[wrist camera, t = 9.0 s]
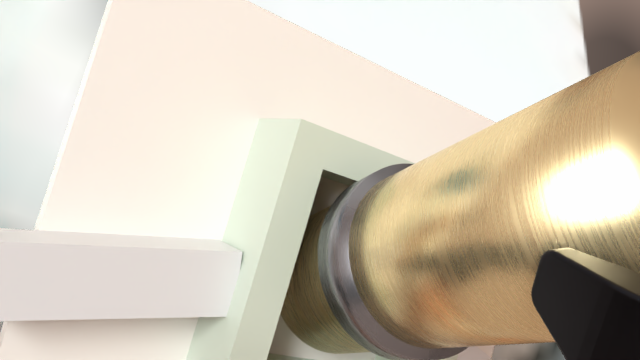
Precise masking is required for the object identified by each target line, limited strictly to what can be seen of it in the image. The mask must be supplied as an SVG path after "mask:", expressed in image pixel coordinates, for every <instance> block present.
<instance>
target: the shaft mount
mask: <svg viewBox="0 0 640 360" xmlns="http://www.w3.org/2000/svg"><path fill="white" fill-rule="evenodd" d="M495 123H496V122H494V121H492V120H490V119H488V118H486V117H484V116H482V115H479V114H477V113H475V112H473V111H471V110H469V109H467V108H465V107H463V106H461V105H459V104H457V103H455V102H453V101H451V100H449V99H447V98H445V97H443V96H441V95H439V94H437V93H435V92H432V91H430V90H428V89H426V88H424V87H422V86H420V85H418V84H416V83H414V82H412V81H410V80H408V79H406V78H404V77H402V76H400V75H398V74H396V73H394V72H392V71H390V70H388V69H386V68H383V67H381V66H379V65H377V64H375V63H373V62H371V61H369V60H367V59H365V58H363V57H361V56H359V55H357V54H355V53H353V52H351V51H349V50H347V49H345V48H343V47H341V46H339V45H336V44H334V43H332V42H330V41H328V40H326V39H324V38H322V37H320V36H318V35H316V34H314V33H312V32H310V31H308V30H306V29H304V28H302V27H300V26H298V25H296V24H294V23H292V22H290V21H287V20H285V19H283V18H281V17H279V16H277V15H275V14H273V13H271V12H269V11H267V10H265V9H263V8H261V7H259V6H257V5H255V4H253V3H251V2H249V1H247V0H108V2H107V6H106V9H105V12H104V15H103V18H102V21H101V24H100V27H99V30H98V33H97V36H96V39H95V42H94V46H93V49H92V52H91V55H90V58H89V61H88V64H87V67H86V70H85V73H84V76H83V79H82V83H81V86H80V89H79V92H78V95H77V98H76V101H75V104H74V107H73V110H72V113H71V116H70V120H69V123H68V126H67V129H66V132H65V135H64V138H63V141H62V144H61V147H60V150H59V153H58V156H57V160H56V163H55V166H54V169H53V172H52V175H51V178H50V181H49V184H48V187H47V190H46V193H45V197H44V200H43V203H42V206H41V209H40V212H39V215H38V218H37V221H36V224H35V227H34V230H25V229H6V228H0V321H4V323H3V326H2V329H1V332H0V360H391V359H387V358H384V357H381V356H378V355H376V354H374V353H372V352H363V353H345V354H333V353H326V352H323V351H319V350H317V349H314V348H312V347H310V346H309V345H307V344H306V343H304V342H303V341H301V340H300V339H299V338H298V337H297V336H296V335H295V334H294V333H293V332H292V331H291V330H290V329H289V327H288V326H287V325H286V323H285V322H284V320H283V318H282V316H281V314H280V313H281V310H282V306H283V303H284V300H285V296H286V293H287V289H288V286H289V283H290V279H291V276H292V273H293V269H294V266H295V262H296V259H297V256H298V252H299V249H300V245H301V242H302V239H303V235H304V232H305V229H306V225H307V222H308V218H309V216H311V215H313V214H315V213H317V212H319V211H321V210H323V209H325V208H327V207H329V206H331V205H332V204H333V202H334V201H335V200H336V198H337V197H338V196H339V195H340V194H341V193H342V192H343V191H344V190H345V189H346V188H348V187H349V186H350V185H352V184H353V183H355V182H357V181H359V180H361V179H363V178H365V177H367V176H368V175H370V174H372V173H374V172H376V171H378V170H380V169H382V168H384V167H387V166H391V165H395V164H402V163H405V164H415V163H417V162H419V161H421V160H423V159H425V158H427V157H429V156H431V155H433V154H435V153H437V152H439V151H441V150H443V149H445V148H447V147H449V146H451V145H453V144H455V143H457V142H459V141H461V140H463V139H465V138H467V137H469V136H471V135H473V134H475V133H477V132H479V131H481V130H483V129H485V128H487V127H489V126H491V125H493V124H495ZM494 347H495V345H491V346H473V347H468V348H467V349H465V350H464V351H462V352H460V353H459V354H457V355H454V356H452V357H449V358H445V359H440V360H493V359H492V355H493V351H494Z"/></svg>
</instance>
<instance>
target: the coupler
mask: <svg viewBox="0 0 640 360" xmlns="http://www.w3.org/2000/svg"><path fill="white" fill-rule="evenodd" d="M558 248H572V249H575V250H578V251H580V252H583V253H586V254H589V255H592V256H594V257H597V258H600V259H603V260H606V261H608V262H611V263H614V264H617V265H620V266H622V267H625V268H628V269H631V270H633V271H636V272H639V273H640V51H639V52H637V53H635V54H633V55H631V56H629V57H627V58H625V59H623V60H621V61H619V62H617V63H615V64H613V65H611V66H609V67H607V68H605V69H603V70H601V71H599V72H597V73H595V74H593V75H591V76H589V77H587V78H585V79H583V80H581V81H579V82H577V83H575V84H573V85H571V86H569V87H567V88H565V89H563V90H561V91H559V92H557V93H555V94H553V95H551V96H549V97H547V98H545V99H543V100H541V101H539V102H537V103H535V104H533V105H531V106H529V107H527V108H525V109H523V110H521V111H519V112H517V113H515V114H513V115H511V116H509V117H507V118H505V119H503V120H501V121H499V122H497V123H495V124H493V125H491V126H489V127H487V128H485V129H483V130H481V131H479V132H477V133H475V134H473V135H471V136H469V137H467V138H465V139H463V140H461V141H459V142H457V143H455V144H453V145H451V146H449V147H447V148H445V149H443V150H441V151H439V152H437V153H435V154H433V155H431V156H429V157H427V158H425V159H423V160H421V161H419V162H417V163H415V164H405V163H402V164H395V165H391V166H387V167H384V168H382V169H380V170H378V171H376V172H374V173H372V174H370V175H368V176H367V177H365V178H363V179H361V180H359V181H357V182H355V183H353V184H352V185H350V186H349V187H348V188H346V189H345V190H344V191H343V192H342V193H341V194H340V195H339V196H338V197H337V198H336V200H335V201H334V202H333V204H332V205H331V206H329V207H327V208H325V209H323V210H321V211H319V212H317V213H315V214H313V215H311V216H309V218H308V222H307V225H306V229H305V232H304V235H303V239H302V242H301V245H300V249H299V252H298V256H297V259H296V262H295V266H294V269H293V273H292V276H291V279H290V283H289V286H288V289H287V293H286V296H285V300H284V303H283V306H282V310H281V313H280V314H281V316H282V318H283V320H284V322H285V323H286V325H287V326H288V327H289V329H290V330H291V331H292V332H293V333H294V334H295V335H296V336H297V337H298V338H299V339H300V340H301V341H303V342H304V343H306V344H307V345H309V346H310V347H312V348H314V349H317V350H319V351H323V352H326V353H333V354H345V353H363V352H372V353H374V354H376V355H378V356H381V357H384V358H387V359H391V360H440V359H445V358H449V357H452V356H454V355H457V354H459V353H460V352H462V351H464V350H465V349H467V348H468V347H473V346H491V345H509V344H527V343H545V342H555V340H554V339H553V337H552V335H551V334H550V332H549V330H548V329H547V327H546V325H545V323H544V322H543V320H542V318H541V317H540V315H539V313H538V312H537V310H536V308H535V306H534V304H533V302H532V297H531V290H532V286H533V283H534V279H535V275H536V272H537V268H538V265H539V261H540V258H541V256H542V255H543V253H544V252H545V251H547V250H551V249H558Z"/></svg>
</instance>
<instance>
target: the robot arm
mask: <svg viewBox="0 0 640 360" xmlns="http://www.w3.org/2000/svg"><path fill="white" fill-rule="evenodd" d="M531 297H532V302H533V304H534V306H535V308H536V310H537V312H538V313H539V315H540V317H541V318H542V320H543V322H544V323H545V325H546V327H547V329H548V330H549V332H550V334H551V335H552V337H553V339H554V340H555V342H556V344H557V345H558V347H559V349H560V350H561V352H562V354H563V355H564V357H565V359H566V360H640V273H639V272H636V271H633V270H631V269H628V268H625V267H622V266H620V265H617V264H614V263H611V262H608V261H606V260H603V259H600V258H597V257H594V256H592V255H589V254H586V253H583V252H580V251H578V250H575V249H572V248H558V249H551V250H547V251H545V252H544V253H543V255H542V256H541V258H540V261H539V265H538V268H537V272H536V275H535V279H534V283H533V286H532V290H531Z"/></svg>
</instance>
